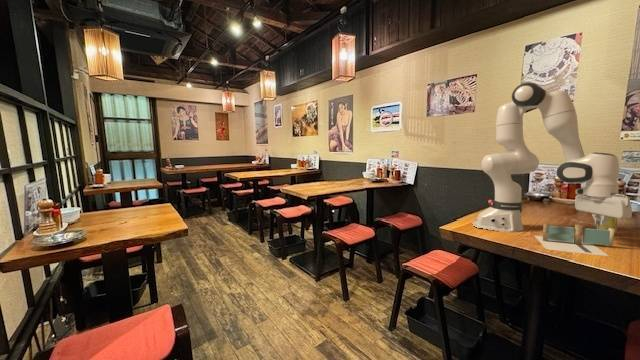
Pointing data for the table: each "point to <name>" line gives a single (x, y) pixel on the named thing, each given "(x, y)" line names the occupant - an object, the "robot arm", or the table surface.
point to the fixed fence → (563, 233)
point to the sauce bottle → (609, 225)
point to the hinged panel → (598, 236)
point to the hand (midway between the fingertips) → (600, 225)
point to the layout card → (570, 246)
